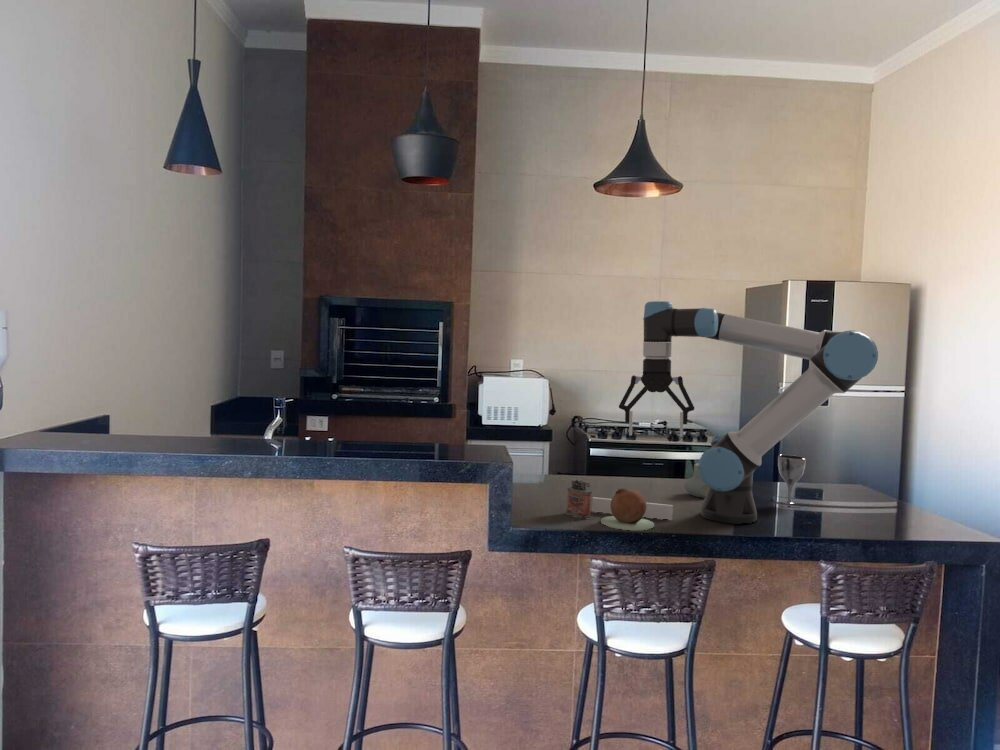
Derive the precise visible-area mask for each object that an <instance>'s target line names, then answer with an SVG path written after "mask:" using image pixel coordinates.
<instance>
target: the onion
mask: <svg viewBox="0 0 1000 750" xmlns="http://www.w3.org/2000/svg"><path fill="white" fill-rule="evenodd" d="M611 499H612V500H611V511H612V514H611V515H612V516H614V517H615V518H616V519H617V520H618V521H620V522H623V523H631V524H634V523H637V522H638V521H640V519H642V518H643V517H642V516H643V515H644V514H645V512H646V508H647V504H646V502H647V501H646V499H645V497H644V495H643V494H642V493H641V492H639V491H637V490H632V489H627V488H618V489H617V491H616V492H615V493H614V496H612V497H611Z"/></svg>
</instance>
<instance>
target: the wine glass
mask: <svg viewBox="0 0 1000 750" xmlns="http://www.w3.org/2000/svg"><path fill="white" fill-rule="evenodd" d="M806 462H807V458H806V456H802V455H798V454H796V455H795V454H787V453H786V454H783V453H782V454H778V456H777V467H778V472H779V474H780V477H781V478H782V479H783V480H784V482H785V484H786V486H787V500H785V501H782V502H783V503H785V504H795V502H793V501H792V500H791V499H792V491H793V487H794V485H795V484H796V483H797V482H798V481H799V480H800V479H801V478H802V477H803V475H804V473H805V469H806Z"/></svg>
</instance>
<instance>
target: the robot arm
mask: <svg viewBox="0 0 1000 750" xmlns="http://www.w3.org/2000/svg"><path fill="white" fill-rule="evenodd" d="M642 320H643V344H642V346H643V349H642V357H644V359H643V360H642V375H641V376H637V375H633V374H632V376H631V378H630V384H629V386H628V387H627V390H626V392H625V393H624V394H623V395H624V396H623V398H622V399H621V401H620V403H619V404H618V408H619V409H620V410H623V411H624V417H625V418H624V421H625V423H626V424H628V427H629V428H628V436H633V410H631V409H632V408H633V407H634V406H635V405H636V404H637V403H638V401H639V400H640V399H641V398H642V397H643V396H644V395H645V394H646V392H650V393H665V392H666V393H667V394H668V395H669V397H671V399H672V400H673V401H674V403H676V404H677V406H678V407H679V408H680V409H681V411H680V412H679V437H680V438H683V437H684V425H688V413H689V412H691V411H695V405H694V404H693V402H692V400H691V398H690V396H689V393H688V392H687V389H686V388H685V385H684V381H683V376H682V375H678V376H672V360H671V359H670V358H671V357H672V339H673V338H672V337H684V338H686V337H688V338H689V337H691V338H692V337H693V338H695V337H696V338H706V339H710V340H715V341H721V342H726V343H729V344H730V343H731V344H734V345H735V344H736V345H738V346H739V345H740V346H745V347H749V348H752V349H753V348H754V349H759V350H762V351H767V352H771V353H776V354H781V355H784V356H785V355H786V356H791V357H795V358H800V359H804V360H808V361H809V365H808V368H807V370H805V371H804V372H803V373H802V374H801V375H800V376H799V377H797V378H796V379H795V380H794V381H793V382H791V384H789V386H787V387H786V389H784V390H783V391H782V392H780V393H779V395H777V396H776V397H775V398H774V399H773V400H772V401H771V402H769V403H768V404H767V405H766V406H765V407H764V408H763V409H761V410H760V412H759V413H757V414H756V415H755V416H754V417H752V418H751V419H750V420H749V421H748V422H747V423H746V424H745V425H744V426H743V427H741V428H740V429H739V430H738V431H728V432H727V433H726V434H725V435H717V434H715V435H713V436H712V437H711V442H710V448H709V449H706V450H704V452H703V453H702V454H701V456H700V458H699V461H698V463H699V465H698V471H699V475H700V477H701V479H702V481H703V482H704V483H705V484H706V485H707V486H708V487H709V489H708V492H707V494H706V497H705V498H703V502H702V505H701V508H700V509H701V510H700V516H701V517H702V518H705V519H707V520H710V521H714V522H719V523H723V524H732V525H733V524H734V525H738V524H739V525H743V524H742V523H748V524H753V523H752V522H754V523H755V521H756V520H757V519H758V511H757V507H756V503H755V500H754V499H755V498H754V495H753V481H754V480H753V478H754V472H755V471H756V470H757V469H758V468H759V467H761V465H762V461H763V460H762V458H763V456H764V455H766V453H767V452H769V450H771V449H772V448H773V447H775V445H777V443H779V442H780V441H781V440H782V439H783V438H785V437H786V436H787V435H788V434H789V433H790V432H791V431H793V430H794V429H795V428H796V427H797V426H799V425H800V424H801V423H802V422H804V420H805V419H807V418H808V417H809V416H810V415H812V413H814V412H815V411H816V410H817V409H818V408H819V407H820V406H822V405H823V404H824V403H825V402H826V401H827V400H828V399H830V398H831V397H832V396H833V395H834V394H845V393H846V392H848V390H849V389H851V388H852V387H853V386H855V384H857V383H858V382H859V381H860V380H862V379H863V378H864V377H866V376H868V375H869V374H870V373H871V372H872V371H873V370H874V369H875V368H876V365H877V362H878V360H879V359H878V358H879V351H878V347H877V344H876V343H875V341H874V340H873V339H872V338H871V337H869V335H867V333H864V332H862V331H858V330H845V331H844V330H843V331H833V330H827V329H824V330H822V331H821V332H818V331H814V330H807V329H803V328H798V327H793V326H789V325H783V324H778V323H774V322H773V323H771V322H768V321H763V320H758V319H757V320H756V319H752V318H747V317H743V316H736V315H733V314H732V315H731V314H727V313H721V312H717V310H716V309H715V308H706V307H701V308H674V307H673V303H672V302H671V301H668V300H667V301H663V300H662V301H660V300H658V301H653V300H652V301H647V302H646V303H645V304H644V311H643V318H642ZM640 381H641V383H642V384H643V386H644V387H642V388H641V390H639V392H638V393H637V394H636V395H635V396H634V397H633V399H631V401H630V402H629V403H628V404H627V405H625V404H626V403H627V401H628V399H629V397H630V395H631V393H632V391H633V390H634V388H635V386H636V385H637V384H639V382H640ZM673 382H674V383H675V385H678V387H679V389H680V391H681V393H682V395H683V397H684V400H685V402H686V403H687V405H688V406H686V405H684V403H683V402H682V401H681V400H680V399H679V397H678V396H677V395H676V394H675V392H674V391H673V390H672V389H671V388H670V385H671V384H672V383H673ZM756 522H757V521H756Z"/></svg>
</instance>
